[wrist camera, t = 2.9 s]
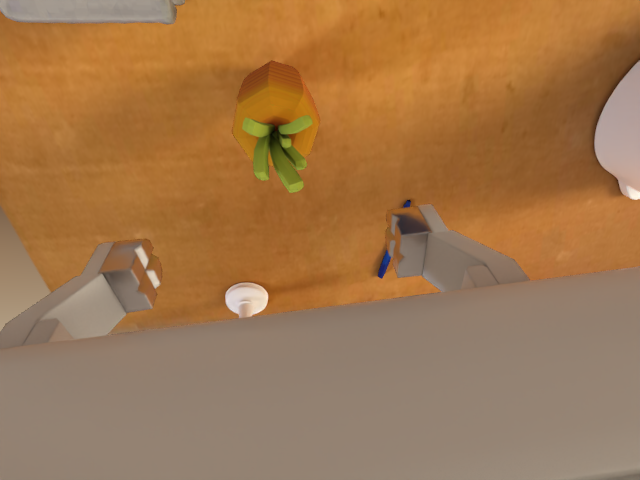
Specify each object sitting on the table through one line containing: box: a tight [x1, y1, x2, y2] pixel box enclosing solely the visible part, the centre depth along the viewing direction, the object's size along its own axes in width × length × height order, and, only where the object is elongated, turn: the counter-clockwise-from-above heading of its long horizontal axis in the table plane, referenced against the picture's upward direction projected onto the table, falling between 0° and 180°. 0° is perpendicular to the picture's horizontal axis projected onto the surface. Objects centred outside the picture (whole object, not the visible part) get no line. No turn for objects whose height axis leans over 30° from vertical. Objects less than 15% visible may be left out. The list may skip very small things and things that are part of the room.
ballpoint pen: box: [378, 200, 411, 279], centre depth 40 cm, size 10×1×1 cm, turn 171°
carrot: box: [232, 61, 320, 193], centre depth 23 cm, size 5×5×15 cm
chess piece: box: [225, 282, 268, 318], centre depth 39 cm, size 5×5×10 cm
